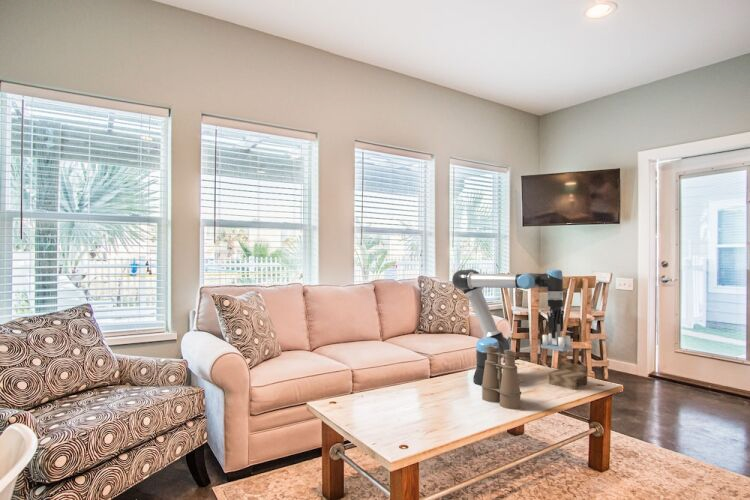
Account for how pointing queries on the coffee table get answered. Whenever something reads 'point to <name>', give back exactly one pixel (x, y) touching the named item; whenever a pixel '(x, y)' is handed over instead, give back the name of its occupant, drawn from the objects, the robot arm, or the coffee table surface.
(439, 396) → the coffee table surface
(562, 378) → the wooden u channel
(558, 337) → the pegged blue plate
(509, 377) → the binoculars
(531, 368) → the coffee table surface
